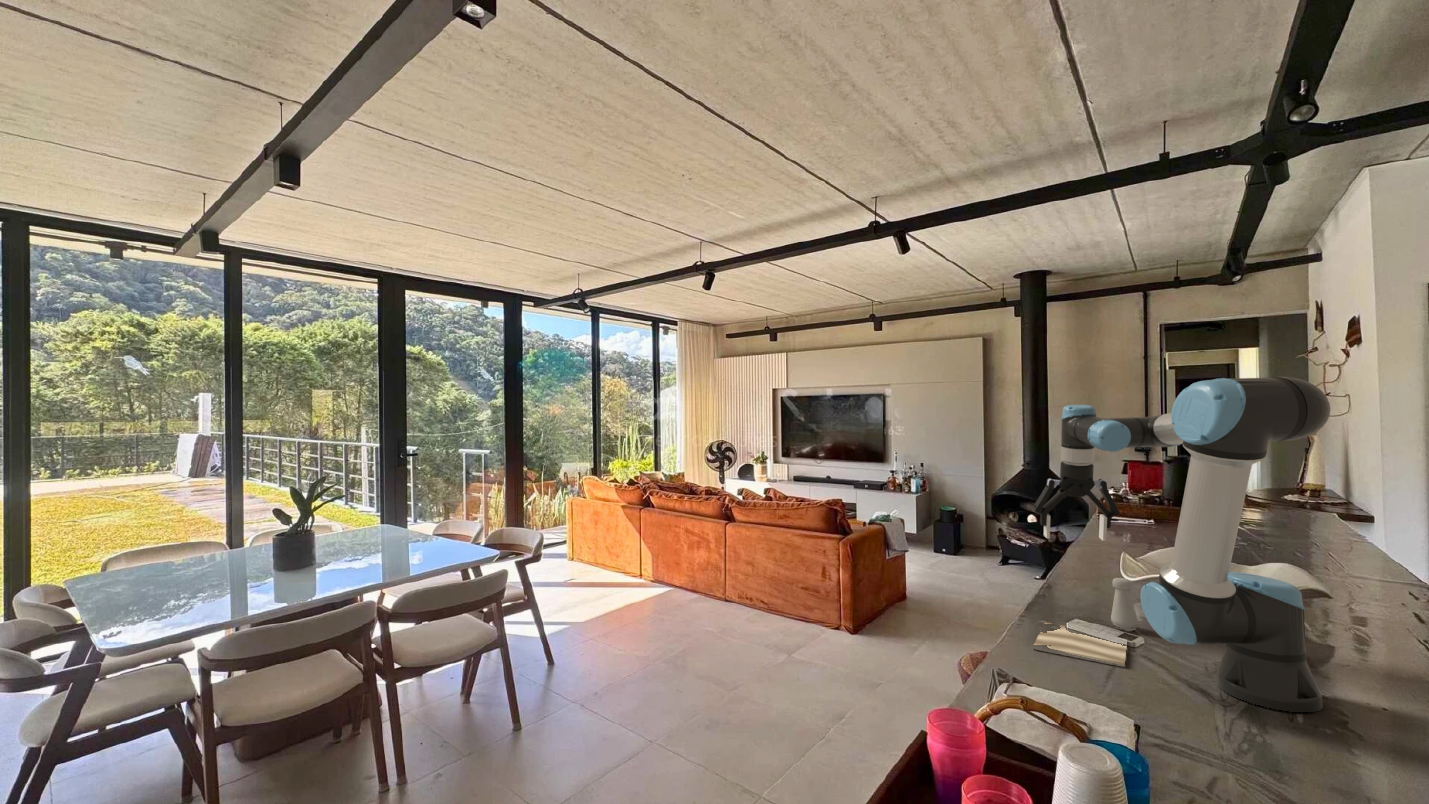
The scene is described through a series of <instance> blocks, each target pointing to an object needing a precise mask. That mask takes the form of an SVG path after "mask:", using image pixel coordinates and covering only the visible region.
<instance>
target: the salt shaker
mask: <svg viewBox="0 0 1429 804" xmlns="http://www.w3.org/2000/svg"><path fill="white" fill-rule="evenodd" d="M1112 587H1113V588H1115V590H1114V595H1113V596H1114V597H1113V603H1112V608H1111V614H1110V621H1111V623H1112V626H1114V625H1115V626H1117V627H1120V628H1128V629H1135V630H1136V629H1137V627H1138V624H1139V620H1138V616H1137V613H1136V609H1135V605H1134V602H1133V597H1132V594H1131V591H1130V590H1132V589H1133V582H1132V581H1131V579H1128V578H1126V577H1125V578H1123V577H1115V578H1113V579H1112Z"/></svg>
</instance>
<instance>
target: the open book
mask: <svg viewBox="0 0 1429 804" xmlns="http://www.w3.org/2000/svg"><path fill="white" fill-rule="evenodd" d="M1044 624H1052V623H1050V622H1044V623H1043V625H1044ZM1059 625H1060V627H1061V628H1060V629H1057V630H1054V631H1047V633H1043V632H1039V633H1040V634H1038V635H1037V637H1036V639H1035V642H1034V643H1033V645H1047V647H1048V648H1050V649H1054V650H1058V651H1062V652H1065V653H1068V654H1072V655H1077V656H1082V657H1087V658H1091V659H1096V660H1101V661H1106V662H1110V663H1115V664H1119V665H1125V661H1126V662H1127V656H1126V650H1127V651H1128V648H1127V646H1122V645H1123V644H1122V645H1121V644H1117V643H1113V642H1110V641H1106V640H1102V639H1098V638H1094V637H1090V636H1087V635H1082V634H1076V633H1071V632H1069V631H1067V630H1066V628H1065V626H1066V625H1062V624H1059ZM1049 645H1051V646H1049ZM1125 666H1126V665H1125Z"/></svg>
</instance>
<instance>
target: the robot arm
mask: <svg viewBox="0 0 1429 804" xmlns="http://www.w3.org/2000/svg"><path fill="white" fill-rule="evenodd" d="M1096 413H1097V412H1096V408H1095V407H1094V406H1093V405H1087V404H1068V405H1065V406H1064V407H1063V408H1062V414H1061V415H1062V417H1061V433H1060V434H1061V435H1060V437H1061V441H1060V442H1061V444H1060V460H1061V462H1060V467H1059V468H1060V472H1059V473H1060V474H1059V475H1060V477H1059V479H1052V478H1050V477H1049V478H1047V479H1046V484H1045V487H1044V489H1043V490H1042V491H1041V493H1040V495H1039V496H1038V498H1037V500H1036V501H1035V503H1034V504H1033V506H1032V510H1034V512H1035V513H1037V514H1040V515H1039V516H1040V519H1039V522H1040V525H1041V526H1043V537H1045V538H1046V539H1049V540H1050V539H1051V515H1050V513H1051V511H1052V510H1053V509H1054V508H1055V507H1056V506H1058V505H1059V504H1060V503H1061V501H1062V500H1064V499H1066V498H1067V497H1068V496H1069V497H1070V498H1071V497H1073V498H1074V497H1079V498H1084V497H1086V496H1087V498H1088V499H1090V501H1091V502H1092V503H1093V504H1094V505H1095V506H1096V507H1097V509H1098V510H1100V511H1101V512H1102V513H1103V514H1102V513H1100V514H1099V526H1098V529H1099V530H1098V538H1099V539H1100V540H1101V541H1102V542H1107V529H1110V528H1111V527H1112V526H1111V524H1112V519H1113V517H1114V516H1118V515H1120V511H1119V508H1118V507H1117V505H1116V503H1115V501H1114V500H1113V498H1112V495H1111V494H1110V492H1109V490H1108V484H1107V481H1105V480H1103V479H1102V478H1099V479H1098V480H1094V468H1095V467H1094V464H1093V463H1094V462H1095V448H1096V449H1098V450H1101V451H1104V452H1105V451H1106V452H1111V453H1113V452H1114V453H1116V452H1119V451H1121V450H1124V449H1127V448H1130V449H1131V448H1170V447H1177V446H1180V445H1182V447H1183V448H1184V449H1185V451H1187V452H1188V453H1189V454H1190V460H1189V465H1188V470H1187V477H1186V481H1185V486H1184V493H1183V497H1182V503H1181V509H1180V515H1179V520H1178V525H1177V530H1176V535H1175V541H1174V546H1173V551H1172V557H1171V562H1170V563H1168V564H1164V565H1163V566H1161V567H1160V569H1159V576H1158V580H1157V582H1154V581H1150V582H1148V583H1147V584H1144V585H1143V586H1142V588H1141V590H1140V594H1139V595H1140V604H1141V609H1142V612H1143V614H1144V616H1145V618H1146V620H1147V623H1148V624H1149V626H1150V627H1151V628H1152V629H1153V631H1155V633H1156V634H1157V635H1158V636H1160V637H1161V638H1162V639H1163V640H1165V641H1167V642H1169V643H1173V644H1181V645H1183V644H1184V645H1190V646H1194V645H1200V644H1201V645H1205V644H1206V645H1209V644H1210V645H1213V644H1217V645H1219V644H1220V645H1221V644H1225V650H1224V652H1223V654H1222V657H1221V659H1220V662H1219V665H1218V667H1217V668H1216V669H1217V670H1216V685H1217V686H1219V687H1220V688H1221V689H1222V690H1221V689H1220V688H1219V687H1218V688H1219V689H1220V690H1221V691H1223V692H1224V691H1225V692H1224V693H1226V694H1227V693H1228V694H1227V695H1229V696H1231V695H1232V696H1231V697H1233V696H1234V697H1233V698H1235V697H1236V698H1235V699H1237V698H1238V700H1240V699H1241V700H1240V701H1242V700H1244V701H1243V702H1245V701H1247V702H1246V703H1248V702H1249V703H1248V704H1251V703H1252V704H1251V705H1255V704H1256V705H1255V706H1257V705H1262V706H1264V707H1263V708H1265V707H1268V708H1267V709H1269V708H1273V709H1277V710H1276V711H1278V710H1283V711H1282V712H1284V711H1289V712H1288V713H1292V712H1309V713H1308V714H1311V713H1310V712H1313V713H1317V712H1319V711H1321V710H1322V709H1323V708H1324V707H1323V706H1324V704H1323V694H1322V692H1321V690H1320V688H1319V685H1318V684H1317V682H1316V679H1315V677H1314V675H1313V673H1312V670H1311V669H1310V666H1309V664H1308V662H1307V644H1306V628H1305V627H1306V625H1305V623H1306V622H1305V610H1306V609H1305V607H1304V605H1303V603H1304V602H1303V596H1302V592H1301V590H1300V589H1299V588H1298V587H1297V586H1295V585H1293V584H1291V583H1289V582H1286V581H1283V580H1279V579H1276V578H1271V577H1267V576H1264V575H1263V576H1262V575H1258V574H1252V573H1247V572H1238V571H1230V570H1231V569H1230V568H1231V564H1232V560H1233V559H1232V558H1233V554H1234V549H1235V546H1236V541H1237V537H1238V531H1239V527H1240V522H1241V517H1242V513H1243V509H1244V504H1245V499H1246V495H1247V490H1248V484H1249V480H1250V476H1251V472H1252V467H1253V465H1254V464H1257V463H1260V462H1262V461H1263V460H1265V459H1266V457H1267V453H1268V452H1267V451H1268V449H1269V444H1270V442H1284V441H1285V442H1288V441H1296V440H1301V439H1304V438H1308V437H1310V436H1312V435H1314V434H1316V433H1317V432H1318V431H1320V430H1321V429H1322V428H1323V427H1324V426H1325V425H1326V424H1327V422H1328V421H1329V419H1330V415H1331V414H1330V413H1331V405H1330V401H1329V398H1328V397H1327V395H1326V393H1325V392H1323V390H1322V389H1320V387H1317V386H1316V385H1315V384H1313V383H1311V382H1309V381H1307V380H1304V379H1300V378H1296V377H1289V376H1273V377H1271V376H1270V377H1246V378H1245V377H1243V378H1242V377H1241V378H1239V377H1238V378H1235V377H1234V378H1225V377H1220V378H1215V379H1214V378H1213V379H1206V380H1200V381H1197V382H1193V383H1192V384H1190V385H1189V386H1187V387H1185V388H1184V389H1182V391H1181V392H1179V394H1178V395H1177V397H1176V398H1175V400H1174V402H1173V405H1172V409H1171V412H1169V413H1164V414H1158V415H1154V416H1142V417H1140V416H1139V417H1133V416H1132V417H1106V418H1103V417H1098V416H1097V414H1096ZM1057 486H1059V487H1060V488H1059V489H1058V490H1057V492H1056V493H1055V494H1054V495H1053V496H1052V497H1051V498H1050V496H1051V495H1052V493H1053V491H1054V489H1055V488H1056V487H1057ZM1095 486H1096V488H1097V489H1098V490H1099V491H1100V494H1101V496H1102V497H1103V498H1104V499H1103V500H1104V501H1105V503H1106V504H1107V506H1108V508H1109V509H1107V507H1106V506H1105V505H1104V504H1103V503H1102V502H1101V500H1099V499H1098V498H1097V497H1096V495H1095V494H1094V493H1093V492H1092V489H1093V488H1094V487H1095ZM1049 498H1050V499H1049ZM1273 709H1272V710H1273ZM1316 711H1317V712H1316Z"/></svg>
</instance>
